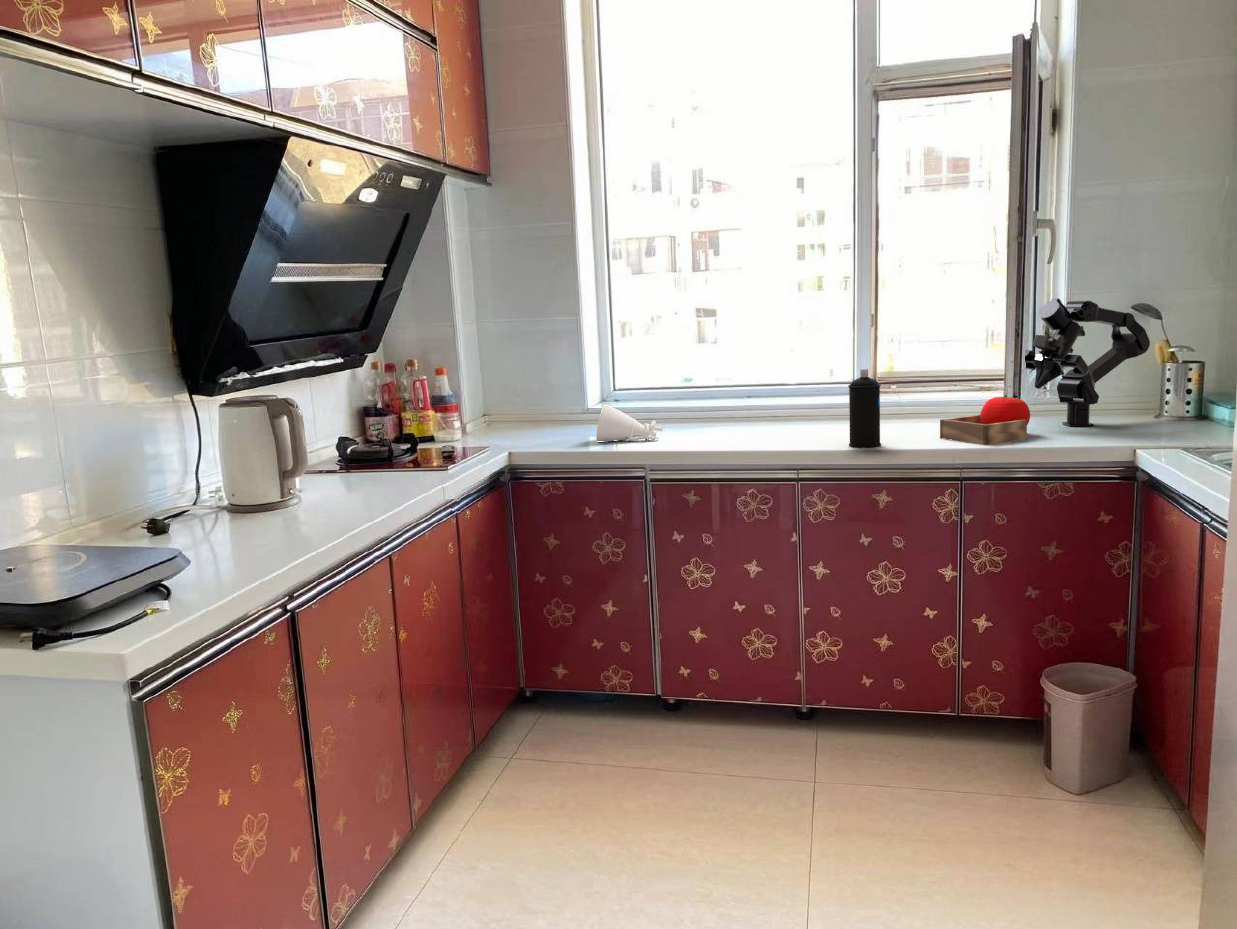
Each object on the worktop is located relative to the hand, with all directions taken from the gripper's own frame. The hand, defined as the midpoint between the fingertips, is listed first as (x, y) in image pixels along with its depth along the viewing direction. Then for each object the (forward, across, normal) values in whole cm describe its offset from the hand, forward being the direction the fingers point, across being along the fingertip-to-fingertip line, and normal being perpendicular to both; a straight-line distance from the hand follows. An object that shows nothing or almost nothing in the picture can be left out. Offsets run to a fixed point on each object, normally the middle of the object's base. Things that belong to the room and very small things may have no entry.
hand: (1036, 387), depth 259 cm
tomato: (+16, -1, -1) cm, 16 cm away
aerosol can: (+39, -18, -27) cm, 51 cm away
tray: (+21, -2, -6) cm, 22 cm away
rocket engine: (+66, -74, -53) cm, 113 cm away
